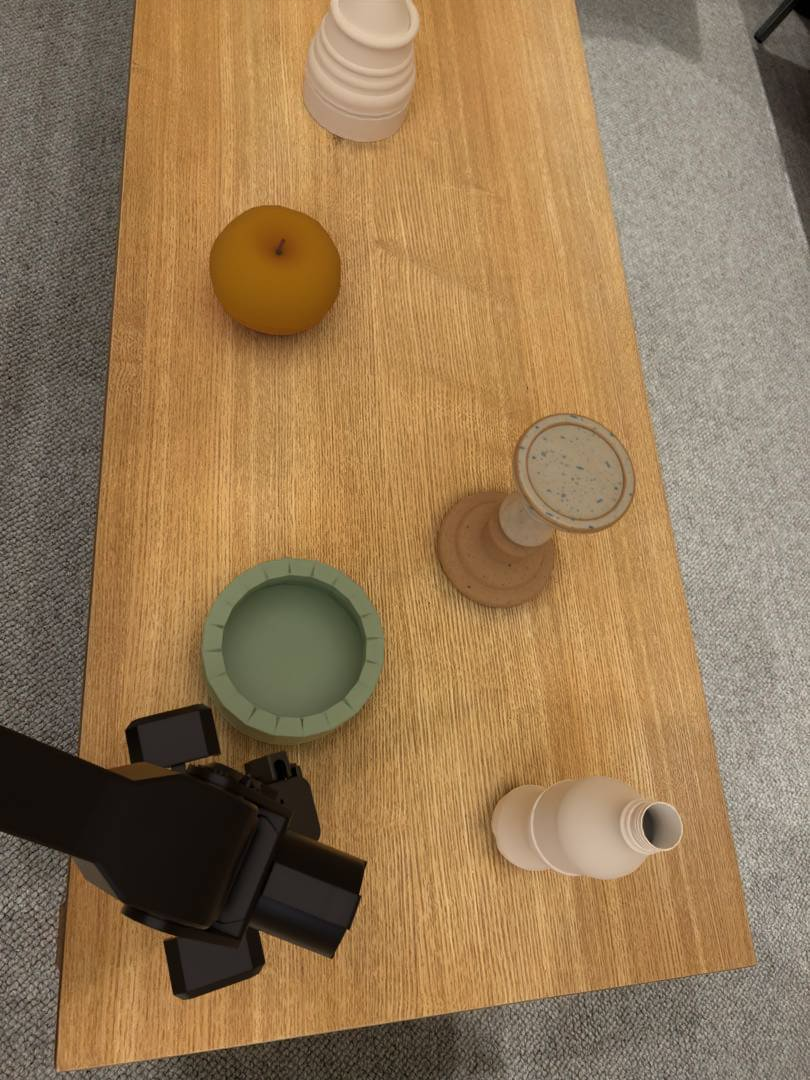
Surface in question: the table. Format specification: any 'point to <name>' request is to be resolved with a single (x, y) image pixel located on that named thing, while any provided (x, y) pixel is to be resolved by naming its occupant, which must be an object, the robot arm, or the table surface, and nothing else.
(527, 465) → the candle holder
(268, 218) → the apple
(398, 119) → the honey pot
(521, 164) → the table surface
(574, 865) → the water bottle
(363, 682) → the bowl
